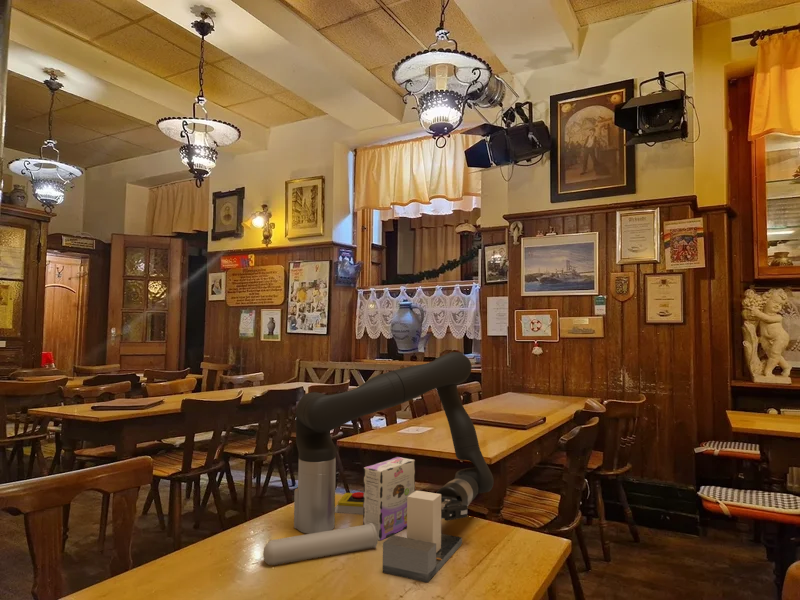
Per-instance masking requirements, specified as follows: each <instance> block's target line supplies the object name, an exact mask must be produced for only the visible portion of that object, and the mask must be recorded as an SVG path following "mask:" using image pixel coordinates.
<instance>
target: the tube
mask: <svg viewBox="0 0 800 600" xmlns="http://www.w3.org/2000/svg"><path fill="white" fill-rule="evenodd" d="M377 545H378V540H377V531H376V528H375V526H374V525H373V524H372V523H369V524H367V525H363V524H362V525H355V526H350V527H344V528H338V529H337V528H336V529H332V530H330V531H324V532H318V533H312V534H308V533H305V534H301V535H294V536H289V537H282V538H278V539H277V538H276V539H270V540H269V541H268V542H267V543H265V546H264V548H263V552H262V555H263V556H262V557H263V561H264V562H265V563H266V564H267V565H269V566H271V565H274V566H277V565H278V564H279V565H284V564H283V563H285V564H290V563H289V562H291V563H296V562H301V560H302V561H305V560H306V561H308V560H312V558H313V559H319V558H323V557H324V556H325V557H330V555H331V556H337V555H341V554H347V552H348V553H354V552H359V551H364V550H365V551H366V550H371V549H376V548H377ZM318 557H319V558H318ZM307 559H308V560H307ZM279 565H278V566H279Z"/></svg>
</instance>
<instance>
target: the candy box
mask: <svg viewBox="0 0 800 600" xmlns="http://www.w3.org/2000/svg"><path fill="white" fill-rule="evenodd" d="M415 477H416V460H415V459H412V458H407V457H400V456H395V457H393V458H390V459H387V460H384V461H381V462H377V463H375V464H371V465H368V466H365V467H363V493H364V506H363V507H364V509H363V515H362V516H363V518H362V519H363V521H362V523H363V524H362V525H367V524H369V523H372V524H373V525H374V526H375V528H376V531H377V541H379V542H380V541H382V540H386V539H388V538H389V537H391V536H392V535H396V534H397V533H398V532H401V531H403V530H405V529H407V497H408V496H409V495H410V494H412V493H413V492H415V491H416V489H415V488H416V484H415V483H416V481H415V480H416V478H415Z"/></svg>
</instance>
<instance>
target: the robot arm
mask: <svg viewBox="0 0 800 600" xmlns="http://www.w3.org/2000/svg"><path fill="white" fill-rule="evenodd" d="M471 373H472V363H471V360H470V359H469V358H468V356H466V355H465V354H463V353H461V352H457V351H456V352H455V351H452V352H448V353H445V354H443V355H441V356H438V357H437V358H435V359H434V360H432V361H429V362H427V363H423V364H418V365H417V364H416V365H412V366H408V367H403V368H398V369H394V370H391V371H387V372H383V373H381V374H378V375H376V376H373V377H371V378H369V379H368V380H366V381H365V382H364V383H362V384H361V385H358V387H355V388H354V389H350V390H347V391H343V392H339V393H333V394H324V393H321V392H317V391H316V392H315V391H314V392H308V393H306V394H304V395H303V396H302V397H301V398H300V400H299V401H298V403H297V405H296V410H295V442H296V444H295V445H296V447H297V452H298V474H297V475H298V476H297V477H298V478H297V488H295V489H294V498H293V499H294V500H293V501H294V503H293V504H294V508H293V511H294V513H293V515H294V517H293V528H294V529H297V530H298V531H299V532H301V533H303V534H312V533H318V532H324V531H330V530H335V529H334V528H335V523H336V522H335V521H336V519H335V518H336V517H335V516H336V513H335V507H336V466H337V465H336V464H337V463H336V457H337V456H336V453H337V451H336V450H337V449H336V448H337V447H336V446H335V443H334V442H333V439H332V437H331V431H333V430H335V429H337V428H340V427H342V426H343V425H345V424H347V423H349V422H351V421H354V420H356V419H358V418H361V417H363V416H367V415H371V414H374V413H377V412H381V411H383V410H387V409H390V408H394V407H397V406H399V405H403V404H404V403H406V402H409V401H411V400H414V399H416V398H418V397H420V396H422V395H424V394H426V393H428V392H430V391H432V390H435V389H436V391H437V394H438V397H439V399H440V402H441V405H442V407H443V411H444V413H445V416H446V420H447V422H448V427H449V430H450V434H451V440H452V443H453V448H454V453H455V456H456V459H458V460H459V461H460V460H461V461H469V462H470V463H472V464H473V467H468V468H463V469H459V470H458V471H456V472H455V476H454V479H452V480H450V481H448V482H447V483H446V484H444V485H443V486H442V487H440V488H439V489H438V490H437V491H436V493H437V494H441V521H442V520H443V519H444V521H446V522H448V521H454V520H459V519H465V518H468V507H469V505H471V503H472V501H474V500H475V499H476V497H477V496H478V495H479V494H484V493H489V492H491V491H492V489H493V487H494V476H493V474H492V471H491V469H490V468H489V466H488V464H487V462H486V460H485V458H484V455H483V454H482V451H481V447H480V445H479V440H478V436H477V432H476V427H475V425H474V422H473V421H472V419H471V417H470V416H469V414H468V412H467V410H466V409H465V407H464V405H463V403H462V401H461V399H460V395H459V392H458V385H460V384H462V383H464V382H465V381H466V380H467V379H468V378H469V377H470V375H471Z"/></svg>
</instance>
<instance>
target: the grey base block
mask: <svg viewBox="0 0 800 600" xmlns="http://www.w3.org/2000/svg"><path fill="white" fill-rule="evenodd" d="M461 544H462V545H463V537H460V536H456V535H450V534H444V533H441V549H440V550H439V551H438V552H437V553H436V543H431V542H426V541H421V540H415V539H410V538H407V537H405V536H399V535H396V534H393V535H391V536H389V537H387V538H386V539H385V540H384V541H383V542H382V573H384V574H387V575H388V574H389V575H392V576H397V577H401V578H406V579H410V580H415V581H420V582H424V583H430V581H431V580H432V578H433V577H434V576H435V575H436V574H437V573H438V572H439V571H440V569H442V567H443V566H444V565H445V564H446V563H447V561H449V559H450V558H451V557H452V556H453V555H454V554H455V553H456V552H457V550H459V548H460V547H461V546H462V545H461Z"/></svg>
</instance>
